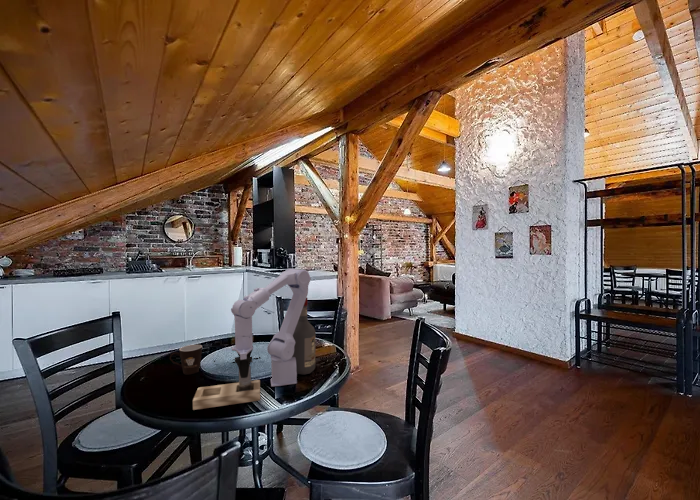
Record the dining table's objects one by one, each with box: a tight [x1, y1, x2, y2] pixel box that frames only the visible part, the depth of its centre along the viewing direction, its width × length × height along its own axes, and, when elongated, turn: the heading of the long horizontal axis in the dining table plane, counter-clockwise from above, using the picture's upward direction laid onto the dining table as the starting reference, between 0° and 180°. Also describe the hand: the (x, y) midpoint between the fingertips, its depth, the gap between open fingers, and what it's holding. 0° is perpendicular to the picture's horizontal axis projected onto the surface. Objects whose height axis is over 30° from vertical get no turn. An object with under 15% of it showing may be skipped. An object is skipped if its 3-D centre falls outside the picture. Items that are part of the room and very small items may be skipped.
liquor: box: [292, 297, 316, 375], centre depth 136 cm, size 9×9×30 cm
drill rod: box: [238, 365, 252, 392], centre depth 115 cm, size 4×4×10 cm
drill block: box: [192, 379, 261, 411], centre depth 113 cm, size 21×10×3 cm, turn 106°
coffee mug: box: [169, 344, 203, 375], centre depth 138 cm, size 12×9×10 cm
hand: (244, 373), depth 115 cm, fingers open, 7 cm apart
